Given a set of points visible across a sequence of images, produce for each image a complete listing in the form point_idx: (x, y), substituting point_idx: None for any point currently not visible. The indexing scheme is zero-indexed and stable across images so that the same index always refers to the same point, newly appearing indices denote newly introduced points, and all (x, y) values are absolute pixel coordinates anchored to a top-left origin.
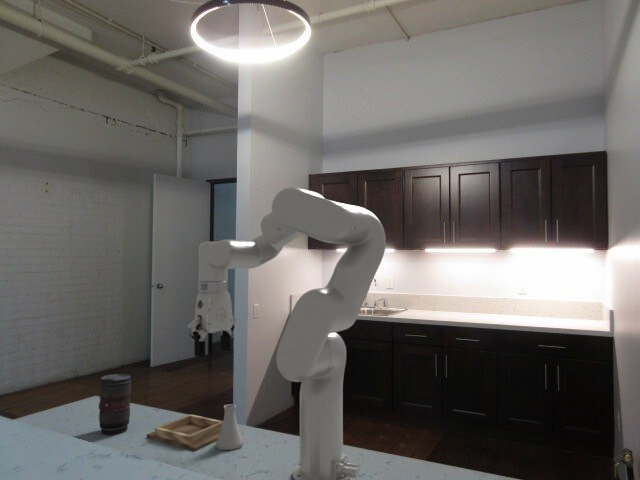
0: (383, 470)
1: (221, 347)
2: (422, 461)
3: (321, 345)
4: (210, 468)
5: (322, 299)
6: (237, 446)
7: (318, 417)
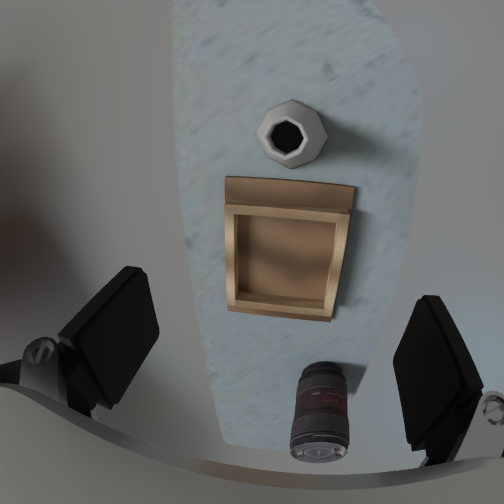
0: None
1: (151, 338)
2: None
3: None
4: (406, 103)
5: None
6: (300, 104)
7: None
